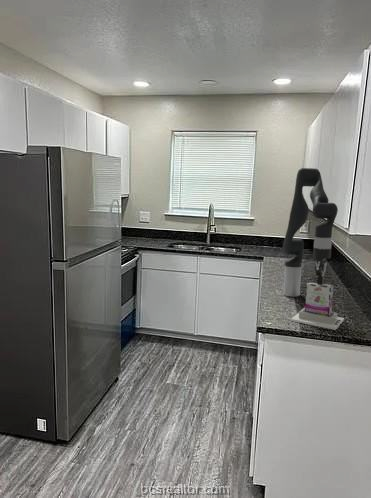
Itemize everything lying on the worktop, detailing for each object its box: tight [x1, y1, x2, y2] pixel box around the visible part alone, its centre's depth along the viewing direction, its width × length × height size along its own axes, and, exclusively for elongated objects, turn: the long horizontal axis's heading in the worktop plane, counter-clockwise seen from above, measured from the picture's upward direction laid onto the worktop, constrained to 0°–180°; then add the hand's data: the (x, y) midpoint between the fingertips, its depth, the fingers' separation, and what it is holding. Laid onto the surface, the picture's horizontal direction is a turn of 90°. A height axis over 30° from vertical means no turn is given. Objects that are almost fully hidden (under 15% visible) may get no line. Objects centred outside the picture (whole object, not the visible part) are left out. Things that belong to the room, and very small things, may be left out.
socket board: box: [290, 306, 345, 331], centre depth 174 cm, size 16×20×4 cm
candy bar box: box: [304, 281, 334, 317], centre depth 173 cm, size 11×5×16 cm, turn 55°
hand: (320, 284), depth 172 cm, fingers closed
